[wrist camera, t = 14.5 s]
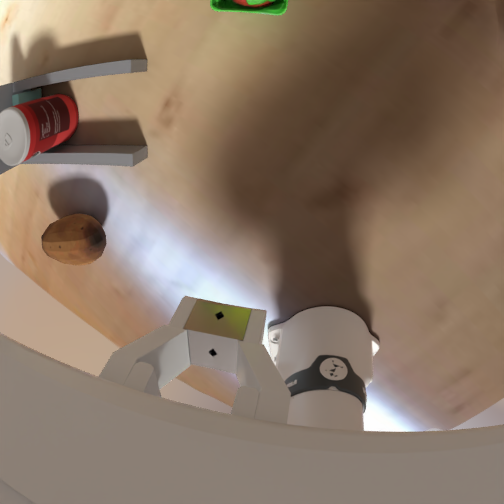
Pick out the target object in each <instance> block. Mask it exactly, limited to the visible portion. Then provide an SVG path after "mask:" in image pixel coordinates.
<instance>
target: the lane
mask: <svg viewBox="0 0 504 504" xmlns="http://www.w3.org/2000/svg"><path fill="white" fill-rule="evenodd" d="M145 71H147V59H138V60H123V61H115V62H108V63H101V64H94V65H88V66H82V67H77V68H71V69H66V70H62V71H57V72H52V73H48V74H44V75H40V76H36V77H32V78H28V79H24V80H21V81H17V82H14V83H10V84H5V85H2V86H0V113H1V111H3V110H4V109H7V108H9V107H12V106H13V103H12V95H16V94H20V93H24V92H28V91H31V88H34V87H39V86H44V85H48V84H53V83H59V82H64V81H70V80H76V79H82V78H89V77H96V76H104V75H113V74H122V73H133V72H145ZM146 158H148V152H147V146H135V145H63V146H55V147H53V148H51V149H49V150H47V151H45V152H43V153H40V154H38V155H36V156H34V157H32V158H30V159H28V160H26V161H24V162H22V163H20V164H89V165H115V166H135V165H136V164H138V163H139V162H141V161H143V160H144V159H146ZM18 165H19V164H18ZM15 166H17V165H15ZM15 166H10V165H7V164H5V163H4V162H3V161H2V160H1V159H0V174H2V173H4V172H6V171H8V170H9V169H11V168H13V167H15Z"/></svg>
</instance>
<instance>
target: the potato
mask: <svg viewBox="0 0 504 504" xmlns="http://www.w3.org/2000/svg"><path fill="white" fill-rule="evenodd" d="M41 238H42V248H43V250H44V252H45V253H46V254H47V255H48V256H49V257H51V258H53V259H55V260H57V261H59V262H62V263H64V264H71V265H86V264H91V263H92V262H94V261H95V260H96V259H98V258H99V257H101V256H102V253H103V251H104V248H105V246H106V235H105V232H104V230H103V228H102V226H101V224H100V223H99V222H98V221H97V220H96V219H94V218H93V217H92V216H90V215H85V214H73V215H68V216H65V217H63V218H61V219H59V220H57V221H55V222H53V223H51V224H50V225H49V226H48V228H47V229H46V230H45V232H44V234H43V235H42V237H41Z"/></svg>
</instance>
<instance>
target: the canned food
mask: <svg viewBox="0 0 504 504" xmlns="http://www.w3.org/2000/svg"><path fill="white" fill-rule="evenodd" d="M78 118H79V117H78V109H77V106H76V104H75V102H74V101H73V100H72V99H71V98H70V97H69V96H67V95H63V94H55V95H51V96H47V97H43V98H39V99H36V100H32V101H28V102H25V103H21V104H18V105H15V106H12V107H9V108H7V109H4V110H3V111H1V113H0V159H1V160H2V161H3V162H4V163H5V164H7V165H10V166H15V165H18V164H20V163H22V162H24V161H26V160H28V159H30V158H32V157H34V156H36V155H38V154H40V153H43V152H45V151H47V150H49V149H51V148H53V147H55V146H58V145H60V144H62V143H64V142H66V141H67V140H69V139H70V138H71V136H72V135H73V134H74V132H75V131H76V128H77V125H78Z"/></svg>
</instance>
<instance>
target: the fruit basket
mask: <svg viewBox="0 0 504 504" xmlns="http://www.w3.org/2000/svg"><path fill="white" fill-rule="evenodd" d="M287 5H288V0H211V1H210V6H211V8H212V9H213V10H215V11H230V12H249V13H261V14H269V15H282V14H283V13H285V12H286V10H287Z"/></svg>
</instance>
